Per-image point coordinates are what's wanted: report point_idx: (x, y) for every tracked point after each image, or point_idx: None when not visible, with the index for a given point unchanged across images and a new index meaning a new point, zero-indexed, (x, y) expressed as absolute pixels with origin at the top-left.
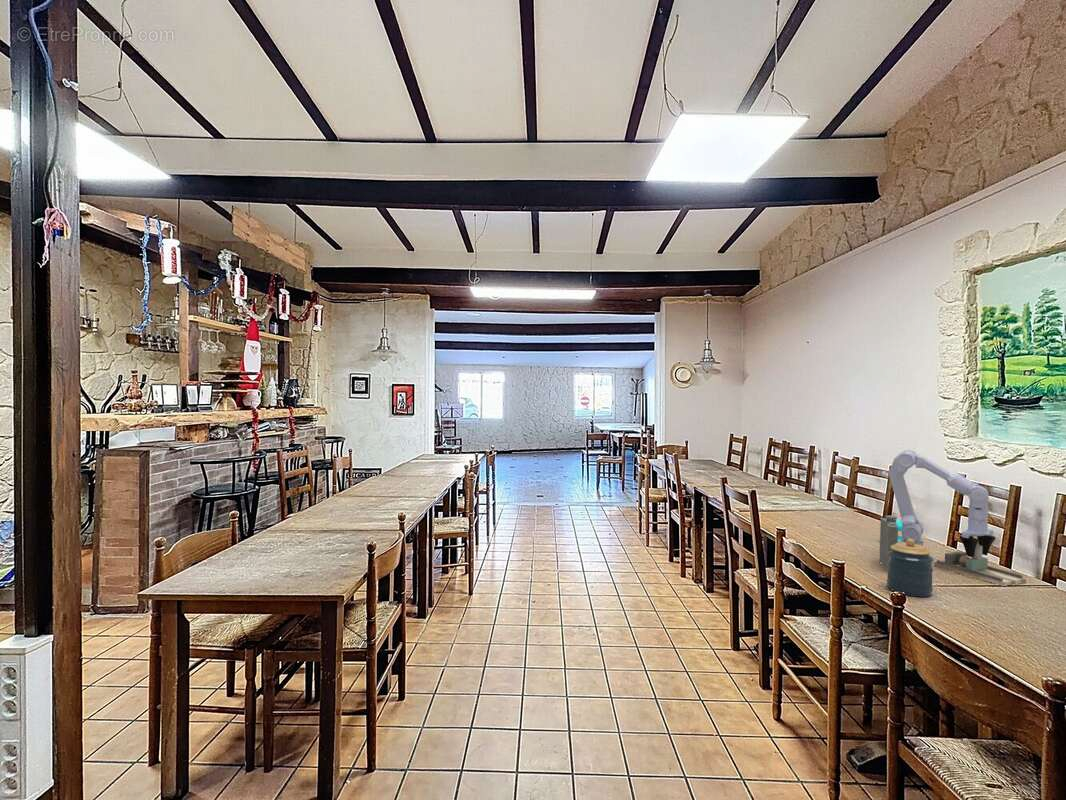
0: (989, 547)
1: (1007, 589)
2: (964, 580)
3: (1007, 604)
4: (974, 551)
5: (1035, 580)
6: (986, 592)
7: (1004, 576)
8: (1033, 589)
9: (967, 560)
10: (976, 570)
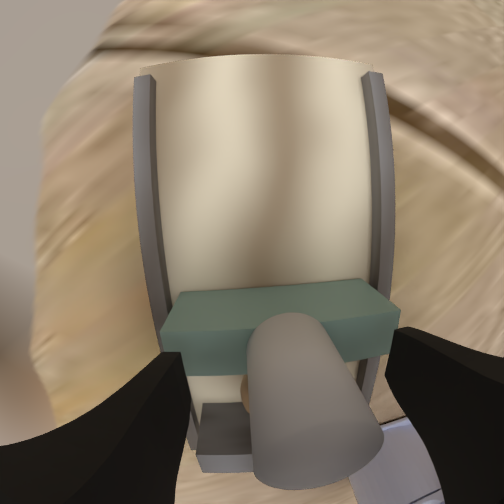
0: (116, 400)
1: (380, 51)
2: (448, 223)
3: (488, 27)
4: (443, 346)
5: (49, 119)
6: (483, 92)
7: (228, 134)
8: (234, 5)
9: (390, 338)
10: (310, 284)
